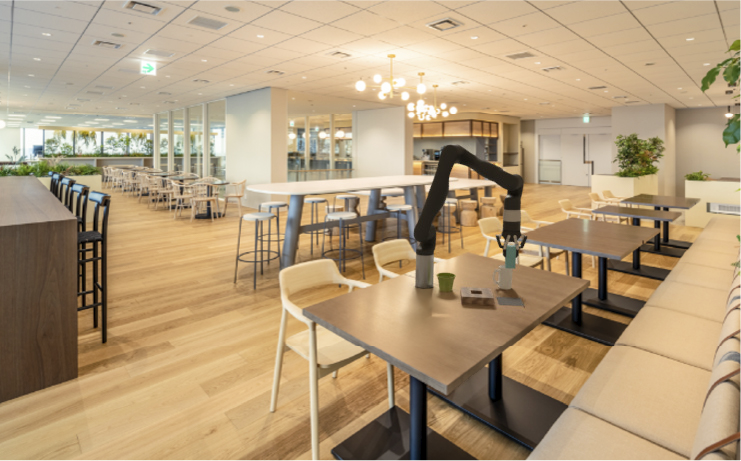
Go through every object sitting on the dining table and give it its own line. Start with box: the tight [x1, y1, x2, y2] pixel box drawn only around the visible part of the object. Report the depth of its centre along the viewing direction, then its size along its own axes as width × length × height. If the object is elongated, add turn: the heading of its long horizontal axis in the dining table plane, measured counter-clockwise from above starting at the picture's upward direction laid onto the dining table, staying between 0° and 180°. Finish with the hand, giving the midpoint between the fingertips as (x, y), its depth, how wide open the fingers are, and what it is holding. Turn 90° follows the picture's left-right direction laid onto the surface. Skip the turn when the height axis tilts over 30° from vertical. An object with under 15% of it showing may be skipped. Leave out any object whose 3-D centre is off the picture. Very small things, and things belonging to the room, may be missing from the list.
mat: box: [495, 296, 525, 309], centre depth 184 cm, size 11×11×1 cm
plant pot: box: [436, 272, 456, 293], centre depth 200 cm, size 9×9×9 cm
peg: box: [504, 244, 517, 270], centre depth 180 cm, size 4×4×10 cm
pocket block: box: [459, 286, 495, 307], centre depth 186 cm, size 14×14×4 cm
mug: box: [492, 264, 514, 290], centre depth 202 cm, size 10×7×12 cm, turn 96°
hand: (510, 257), depth 180 cm, fingers closed on peg, 4 cm apart
